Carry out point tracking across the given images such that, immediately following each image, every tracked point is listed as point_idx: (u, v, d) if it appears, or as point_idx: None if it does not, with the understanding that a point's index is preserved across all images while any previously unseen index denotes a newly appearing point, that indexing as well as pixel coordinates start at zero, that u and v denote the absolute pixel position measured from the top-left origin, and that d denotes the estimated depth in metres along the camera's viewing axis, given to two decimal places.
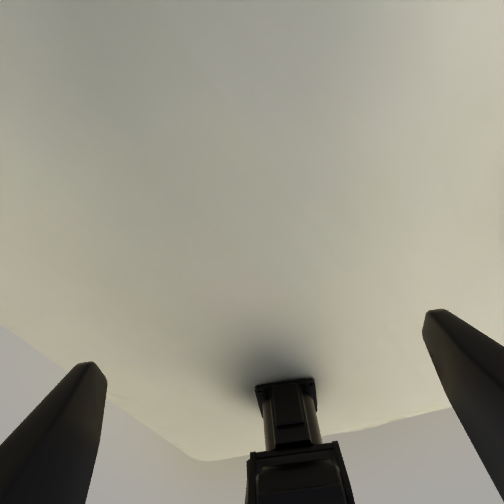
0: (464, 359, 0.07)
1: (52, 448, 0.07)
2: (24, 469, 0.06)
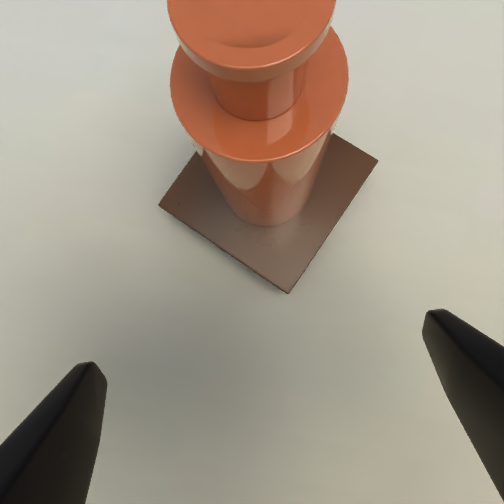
0: (464, 359, 0.07)
1: (52, 448, 0.07)
2: (24, 469, 0.06)
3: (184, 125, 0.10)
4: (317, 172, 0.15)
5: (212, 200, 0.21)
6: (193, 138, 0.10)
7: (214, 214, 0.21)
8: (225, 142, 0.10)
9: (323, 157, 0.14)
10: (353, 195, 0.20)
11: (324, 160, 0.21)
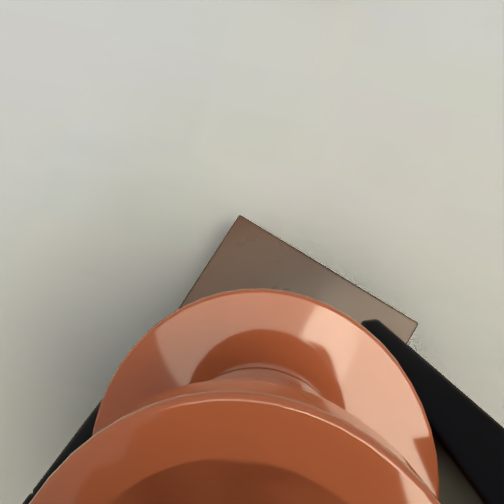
0: None
1: None
2: None
3: None
4: None
5: None
6: None
7: None
8: None
9: None
10: None
11: None
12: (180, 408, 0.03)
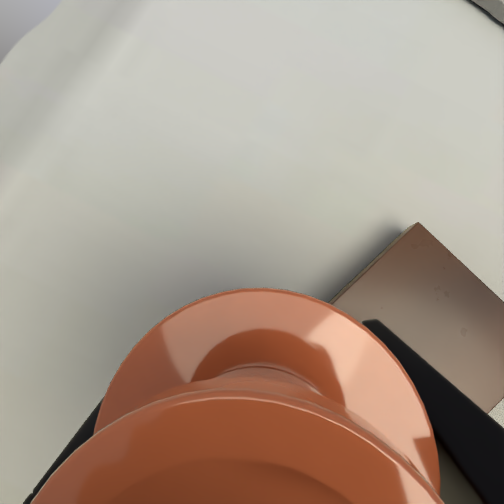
0: None
1: None
2: None
3: None
4: None
5: None
6: None
7: None
8: None
9: None
10: None
11: (491, 333, 0.19)
12: (182, 406, 0.03)
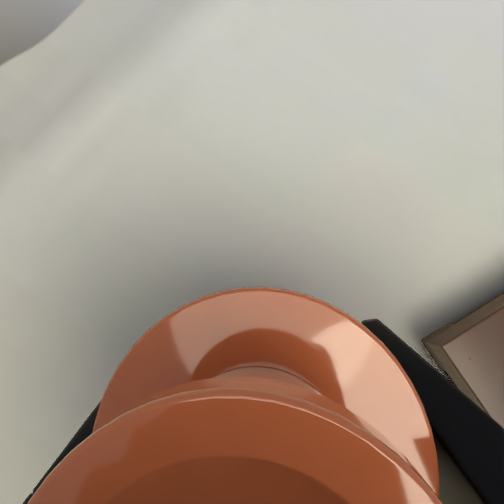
0: None
1: None
2: None
3: None
4: None
5: None
6: None
7: None
8: None
9: None
10: None
11: None
12: (180, 405, 0.03)
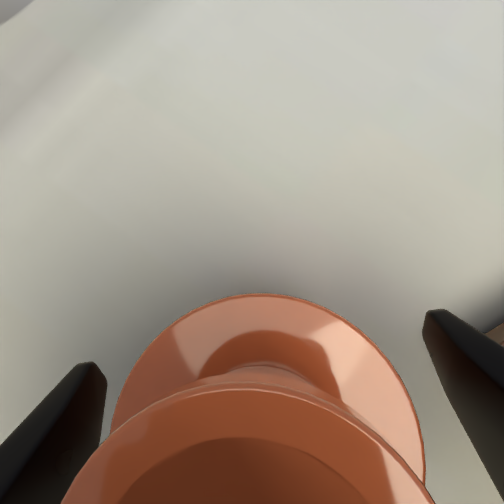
0: (464, 359, 0.07)
1: (52, 448, 0.07)
2: (24, 469, 0.06)
3: None
4: None
5: None
6: None
7: None
8: None
9: None
10: None
11: None
12: (201, 396, 0.03)
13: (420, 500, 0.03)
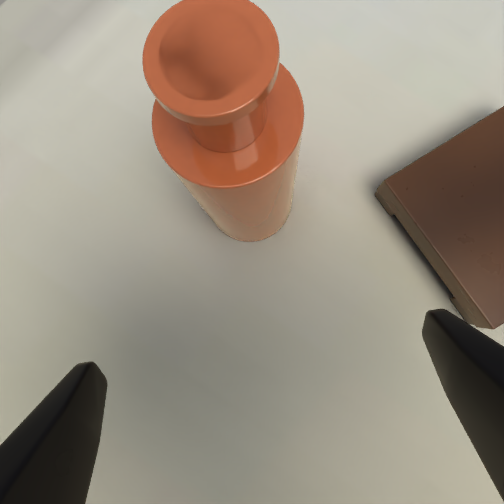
0: (464, 359, 0.07)
1: (52, 448, 0.07)
2: (24, 469, 0.06)
3: (164, 158, 0.12)
4: (290, 191, 0.17)
5: (445, 199, 0.19)
6: (172, 169, 0.12)
7: (442, 214, 0.19)
8: (200, 171, 0.12)
9: (293, 178, 0.15)
10: None
11: None
12: None
13: (264, 16, 0.09)
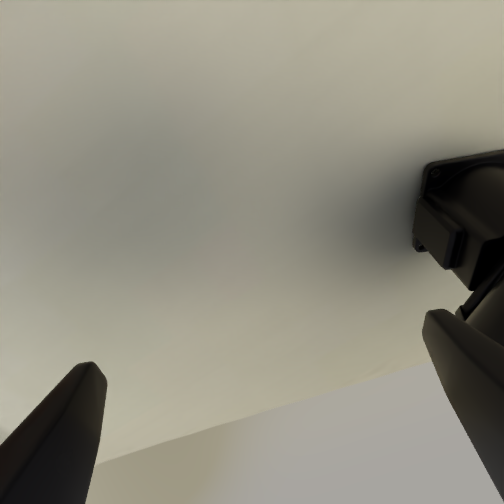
0: (464, 359, 0.07)
1: (52, 448, 0.07)
2: (24, 469, 0.06)
3: None
4: None
5: None
6: None
7: None
8: None
9: None
10: None
11: None
12: None
13: None
